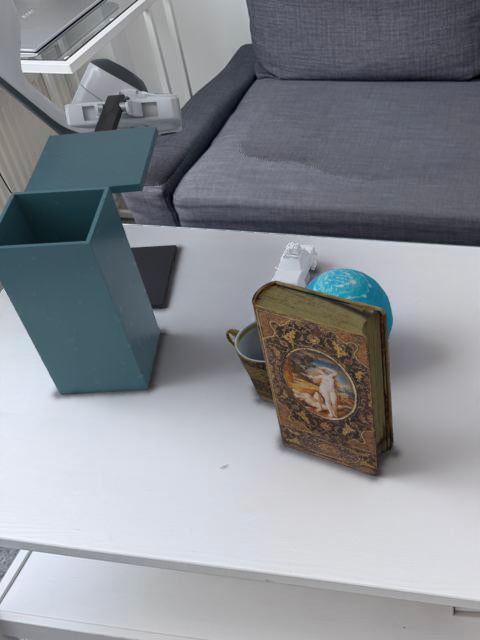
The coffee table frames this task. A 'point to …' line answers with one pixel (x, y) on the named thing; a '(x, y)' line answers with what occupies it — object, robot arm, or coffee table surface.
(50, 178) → the lid
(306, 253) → the toy car
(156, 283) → the mat
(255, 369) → the ceramic cup
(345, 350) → the book
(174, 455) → the coffee table surface
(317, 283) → the decorative orb
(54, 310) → the bin
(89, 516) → the coffee table surface
